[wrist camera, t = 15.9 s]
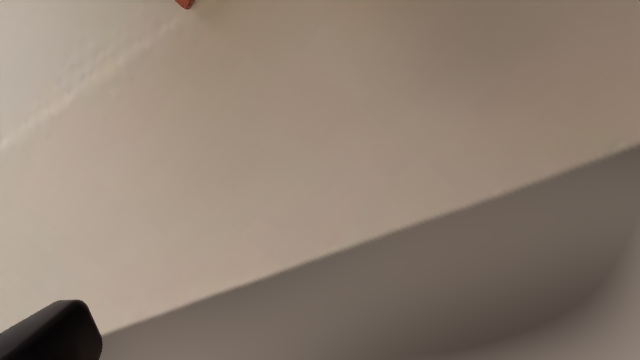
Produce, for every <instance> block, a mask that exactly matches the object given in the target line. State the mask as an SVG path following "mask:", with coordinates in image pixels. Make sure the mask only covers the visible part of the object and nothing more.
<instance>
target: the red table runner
mask: <svg viewBox="0 0 640 360" xmlns="http://www.w3.org/2000/svg"><path fill="white" fill-rule="evenodd" d="M175 1H176V2H177V3H178V4H180V5H181V6H182V7H183V8H184V9H190V7H191V5H192V3H193V1H194V0H175Z"/></svg>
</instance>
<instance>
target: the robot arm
mask: <svg viewBox="0 0 640 360" xmlns="http://www.w3.org/2000/svg"><path fill="white" fill-rule="evenodd" d="M101 352H102V338H101V335H100V333H99V330H98V328H97V326H96V324H95V322H94V319H93V317H92V315H91V313H90V310H89V308H88V306H87V305H86V304H85V303H84V302H83V301H81V300H60V301H56V302H54V303H52V304H50V305H49V306H47V307H45V308H43V309H42V310H40V311H38V312H37V313H35V314H33V315H31V316H30V317H28V318H26V319H24V320H23V321H21V322H19V323H17V324H16V325H14V326H12V327H10V328H9V329H7V330H5V331H3V332H2V333H0V360H99V358H100V355H101Z"/></svg>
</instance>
